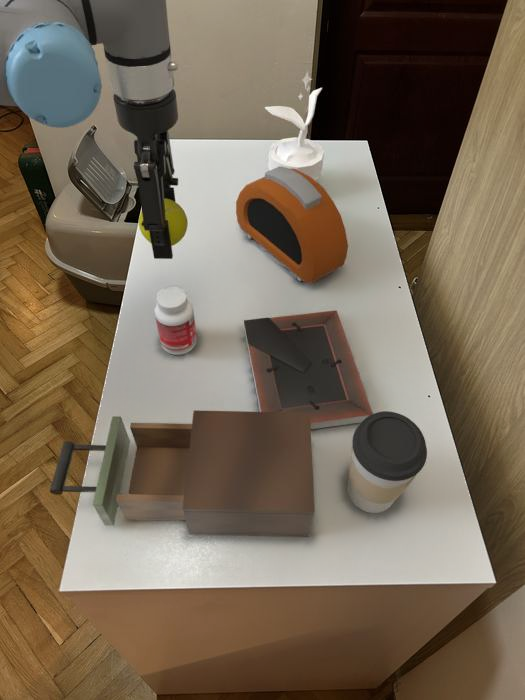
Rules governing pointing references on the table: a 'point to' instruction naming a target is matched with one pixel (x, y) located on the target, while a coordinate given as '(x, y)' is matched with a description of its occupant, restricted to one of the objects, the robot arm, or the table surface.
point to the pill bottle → (175, 321)
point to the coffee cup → (384, 460)
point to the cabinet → (249, 474)
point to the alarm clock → (294, 222)
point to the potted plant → (297, 140)
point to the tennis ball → (170, 222)
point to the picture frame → (306, 368)
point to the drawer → (135, 471)
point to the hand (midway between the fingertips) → (166, 239)
